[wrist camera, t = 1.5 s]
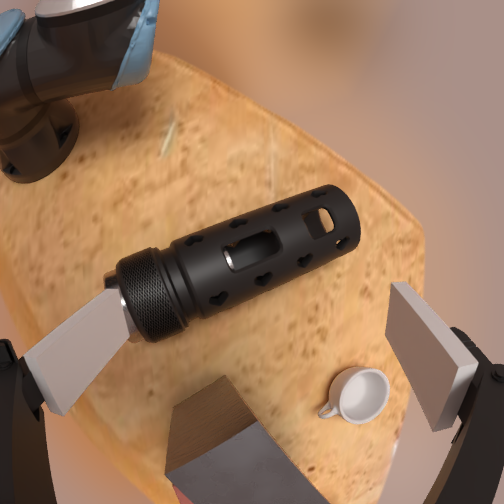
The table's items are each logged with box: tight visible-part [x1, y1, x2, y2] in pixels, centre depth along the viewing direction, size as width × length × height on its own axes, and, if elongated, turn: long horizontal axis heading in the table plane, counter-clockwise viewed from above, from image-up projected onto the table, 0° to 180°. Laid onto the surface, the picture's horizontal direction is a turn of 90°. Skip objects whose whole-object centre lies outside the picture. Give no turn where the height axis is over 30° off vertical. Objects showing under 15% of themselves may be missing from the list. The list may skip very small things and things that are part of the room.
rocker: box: [173, 484, 193, 504], centre depth 22 cm, size 10×1×8 cm, turn 14°
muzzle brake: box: [103, 184, 361, 343], centre depth 34 cm, size 10×28×10 cm, turn 115°
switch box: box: [165, 375, 330, 504], centre depth 25 cm, size 16×8×18 cm, turn 34°
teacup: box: [318, 367, 390, 424], centre depth 36 cm, size 10×8×5 cm
